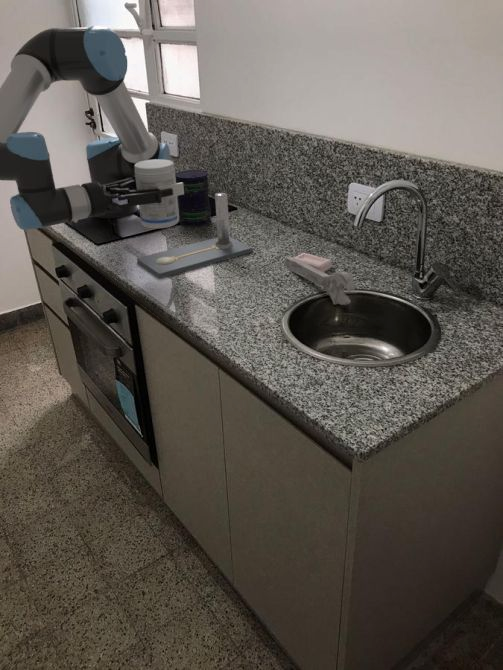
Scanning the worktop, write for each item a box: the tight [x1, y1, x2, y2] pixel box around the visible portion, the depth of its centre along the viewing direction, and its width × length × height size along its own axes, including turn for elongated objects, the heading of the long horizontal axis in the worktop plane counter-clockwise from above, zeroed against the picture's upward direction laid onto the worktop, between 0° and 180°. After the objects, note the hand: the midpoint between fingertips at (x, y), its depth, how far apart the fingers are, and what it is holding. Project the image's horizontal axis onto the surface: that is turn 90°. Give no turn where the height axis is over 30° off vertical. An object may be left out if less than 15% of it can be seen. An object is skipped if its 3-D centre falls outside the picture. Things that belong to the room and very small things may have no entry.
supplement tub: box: [134, 159, 180, 229], centre depth 135 cm, size 10×10×15 cm
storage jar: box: [175, 169, 212, 228], centre depth 170 cm, size 10×10×15 cm
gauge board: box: [136, 235, 253, 279], centre depth 148 cm, size 13×28×1 cm, turn 125°
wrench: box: [284, 256, 356, 306], centre depth 128 cm, size 8×2×30 cm
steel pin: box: [214, 192, 232, 248], centre depth 149 cm, size 5×5×14 cm
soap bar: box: [293, 252, 333, 273], centre depth 140 cm, size 5×9×2 cm, turn 50°
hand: (172, 184), depth 136 cm, fingers closed on supplement tub, 9 cm apart
